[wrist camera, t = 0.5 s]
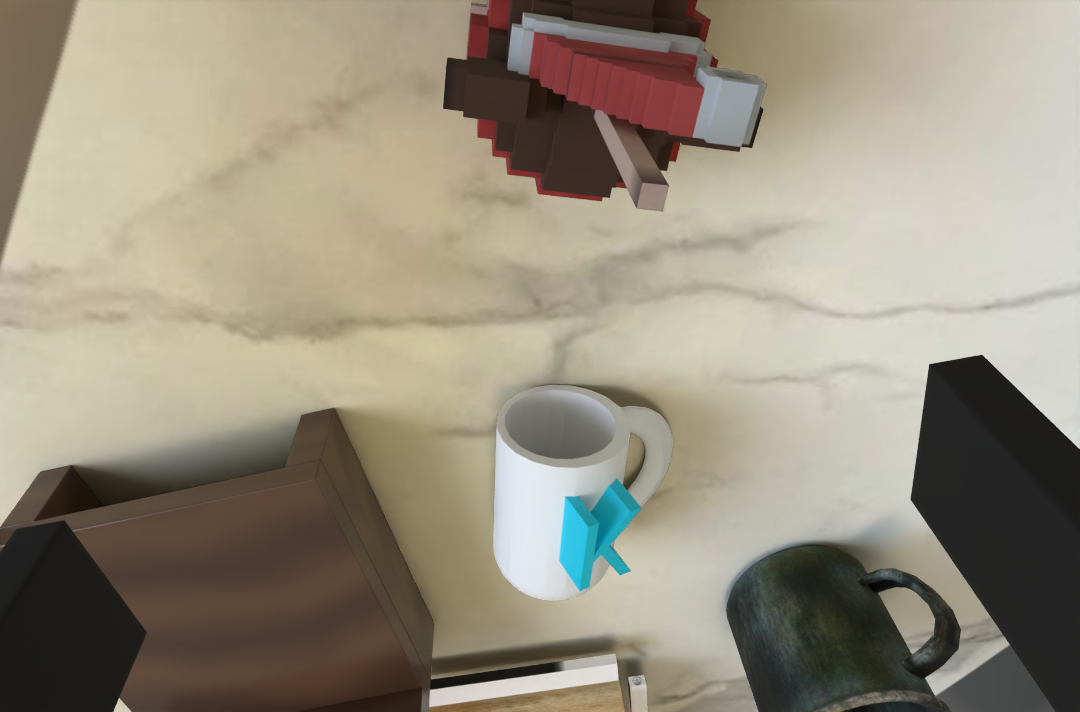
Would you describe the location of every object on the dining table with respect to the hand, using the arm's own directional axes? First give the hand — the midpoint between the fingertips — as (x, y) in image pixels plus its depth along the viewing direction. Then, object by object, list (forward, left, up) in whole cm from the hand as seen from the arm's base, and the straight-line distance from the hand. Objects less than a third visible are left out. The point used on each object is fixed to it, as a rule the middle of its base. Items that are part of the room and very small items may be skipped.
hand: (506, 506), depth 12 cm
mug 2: (+38, +14, -27) cm, 49 cm away
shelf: (+25, -22, -27) cm, 43 cm away
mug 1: (+23, 0, -27) cm, 36 cm away
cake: (-1, +4, -27) cm, 27 cm away
